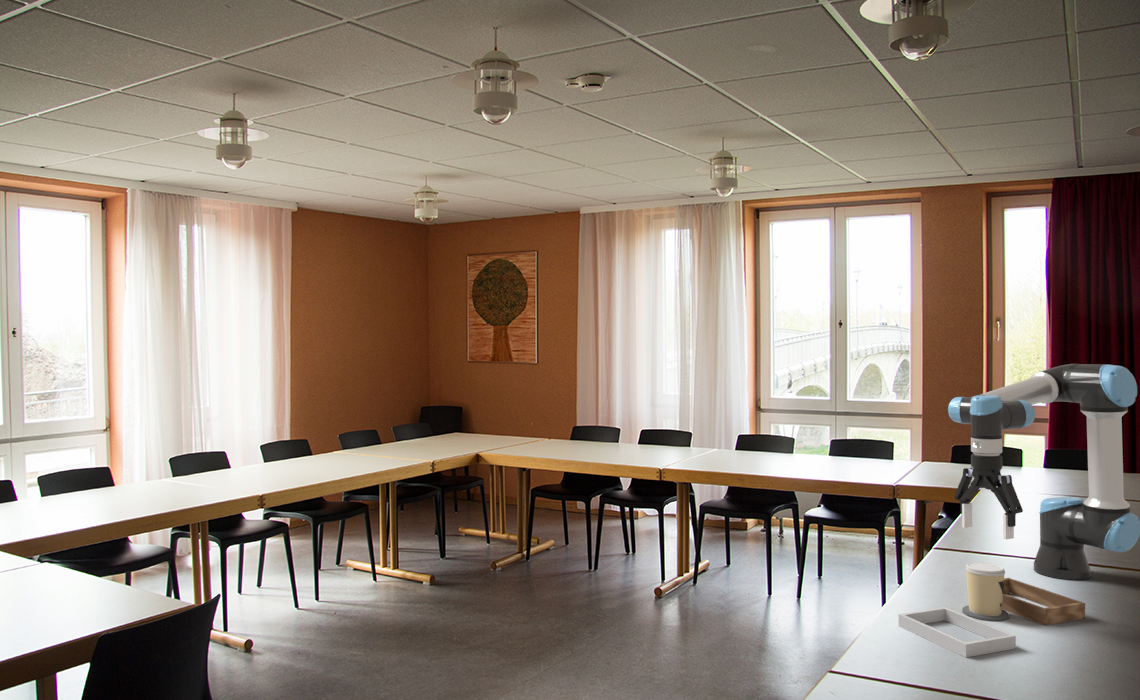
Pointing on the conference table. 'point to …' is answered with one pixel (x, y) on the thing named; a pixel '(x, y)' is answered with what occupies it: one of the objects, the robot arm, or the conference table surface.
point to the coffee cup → (985, 588)
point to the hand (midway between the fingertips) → (987, 532)
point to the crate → (1057, 604)
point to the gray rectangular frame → (917, 625)
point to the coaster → (1001, 617)
